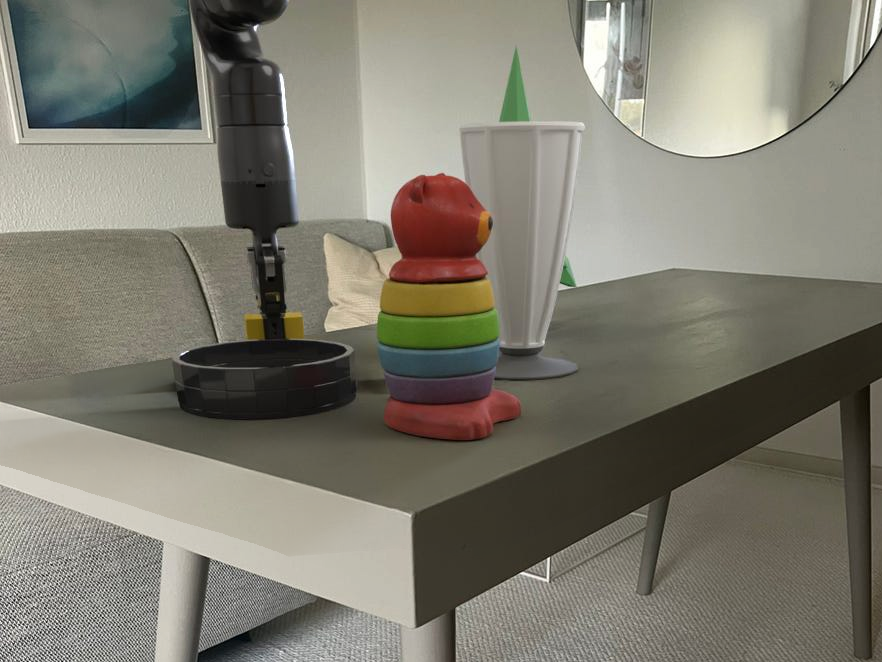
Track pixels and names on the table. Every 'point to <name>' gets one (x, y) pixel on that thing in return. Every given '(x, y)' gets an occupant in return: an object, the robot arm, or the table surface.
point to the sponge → (291, 321)
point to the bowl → (265, 378)
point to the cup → (524, 230)
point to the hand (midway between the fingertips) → (275, 349)
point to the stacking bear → (440, 316)
